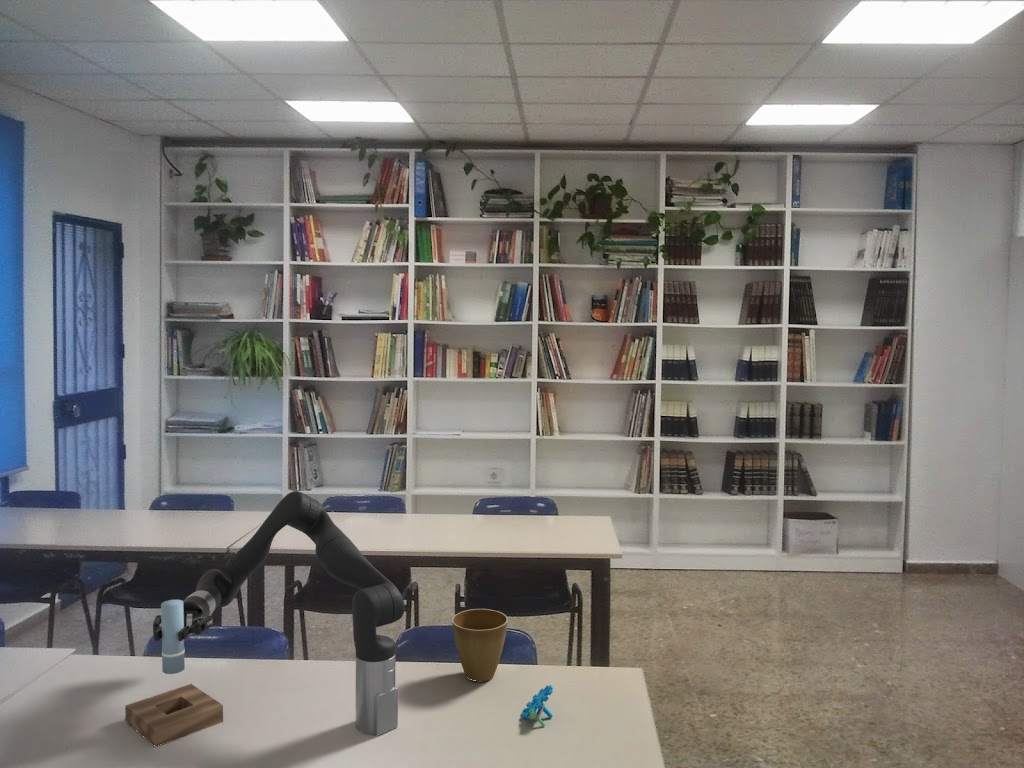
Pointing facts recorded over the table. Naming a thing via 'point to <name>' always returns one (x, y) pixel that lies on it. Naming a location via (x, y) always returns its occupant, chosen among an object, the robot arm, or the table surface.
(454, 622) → the plant pot
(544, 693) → the blue green construction toy
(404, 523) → the table surface
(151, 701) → the socket block
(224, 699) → the table surface
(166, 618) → the peg
